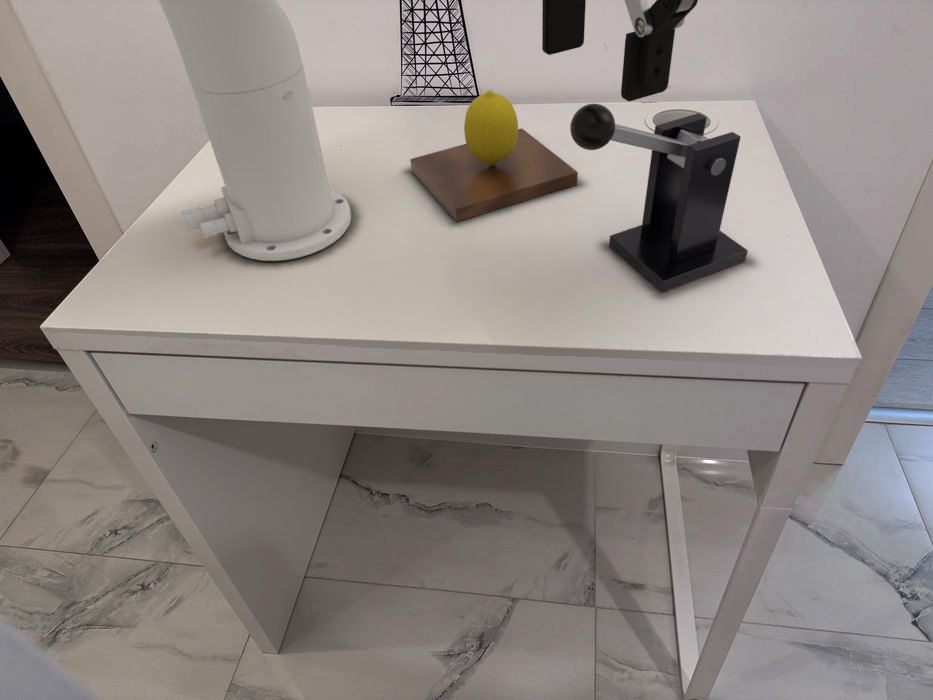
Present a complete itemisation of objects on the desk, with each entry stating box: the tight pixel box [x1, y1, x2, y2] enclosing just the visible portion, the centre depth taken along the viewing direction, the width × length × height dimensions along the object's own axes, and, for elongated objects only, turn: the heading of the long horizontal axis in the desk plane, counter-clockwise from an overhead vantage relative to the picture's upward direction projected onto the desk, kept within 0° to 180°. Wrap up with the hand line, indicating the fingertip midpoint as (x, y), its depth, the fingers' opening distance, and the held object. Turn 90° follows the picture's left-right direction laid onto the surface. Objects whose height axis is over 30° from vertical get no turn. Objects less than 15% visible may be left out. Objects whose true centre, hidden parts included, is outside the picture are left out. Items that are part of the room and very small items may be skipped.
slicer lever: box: [569, 103, 709, 168], centre depth 53 cm, size 14×3×3 cm, turn 116°
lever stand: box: [608, 112, 749, 293], centre depth 59 cm, size 9×8×12 cm
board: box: [409, 128, 578, 223], centre depth 74 cm, size 14×12×2 cm
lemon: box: [463, 90, 519, 166], centre depth 71 cm, size 6×6×8 cm
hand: (600, 70), depth 47 cm, fingers open, 9 cm apart
